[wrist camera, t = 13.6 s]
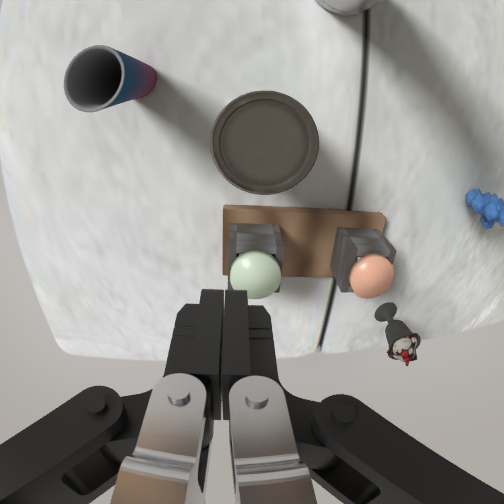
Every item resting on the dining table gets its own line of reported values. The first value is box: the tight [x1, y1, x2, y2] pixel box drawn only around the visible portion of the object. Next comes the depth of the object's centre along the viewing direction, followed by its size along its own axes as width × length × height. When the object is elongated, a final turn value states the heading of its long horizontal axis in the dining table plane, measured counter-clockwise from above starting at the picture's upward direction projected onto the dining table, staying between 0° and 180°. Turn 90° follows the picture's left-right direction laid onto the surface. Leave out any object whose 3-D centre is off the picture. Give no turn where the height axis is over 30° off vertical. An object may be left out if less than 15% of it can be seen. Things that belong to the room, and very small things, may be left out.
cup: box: [64, 45, 156, 112], centre depth 29 cm, size 7×7×15 cm
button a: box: [230, 250, 281, 299], centre depth 42 cm, size 6×6×8 cm
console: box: [223, 205, 396, 292], centre depth 45 cm, size 25×11×9 cm, turn 87°
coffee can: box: [210, 91, 319, 195], centre depth 34 cm, size 10×10×14 cm
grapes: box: [466, 189, 504, 229], centre depth 41 cm, size 12×7×12 cm, turn 84°
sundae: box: [375, 303, 421, 366], centre depth 51 cm, size 7×7×15 cm
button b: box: [349, 254, 395, 298], centre depth 43 cm, size 6×6×8 cm
